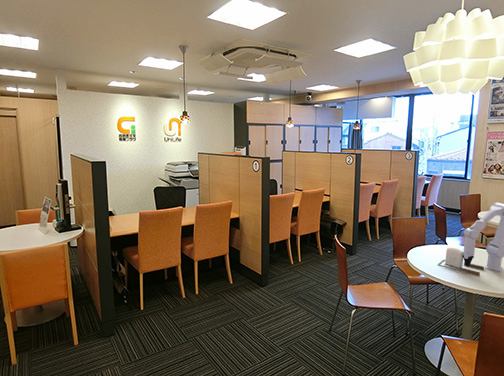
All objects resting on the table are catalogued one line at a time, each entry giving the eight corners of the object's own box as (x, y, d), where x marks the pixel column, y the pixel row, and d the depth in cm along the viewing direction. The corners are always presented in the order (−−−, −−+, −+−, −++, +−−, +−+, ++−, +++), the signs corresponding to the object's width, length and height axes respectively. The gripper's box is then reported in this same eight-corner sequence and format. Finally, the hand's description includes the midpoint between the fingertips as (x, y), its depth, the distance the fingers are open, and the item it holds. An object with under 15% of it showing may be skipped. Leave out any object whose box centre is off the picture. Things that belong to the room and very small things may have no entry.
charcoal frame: (443, 259, 220) (443, 259, 220) (462, 264, 211) (462, 264, 211) (437, 265, 210) (437, 264, 210) (456, 270, 201) (456, 269, 201)
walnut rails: (464, 264, 211) (464, 262, 210) (483, 269, 203) (484, 266, 202) (458, 270, 201) (459, 267, 201) (479, 275, 193) (479, 272, 193)
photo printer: (463, 267, 205) (465, 249, 204) (460, 268, 203) (461, 250, 202) (447, 262, 214) (448, 245, 213) (444, 263, 212) (445, 246, 210)
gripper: (465, 242, 209) (462, 261, 211) (459, 247, 199) (457, 267, 201) (477, 245, 204) (475, 264, 206) (472, 250, 194) (470, 270, 196)
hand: (467, 266), depth 203 cm, fingers closed, pressing on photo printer
